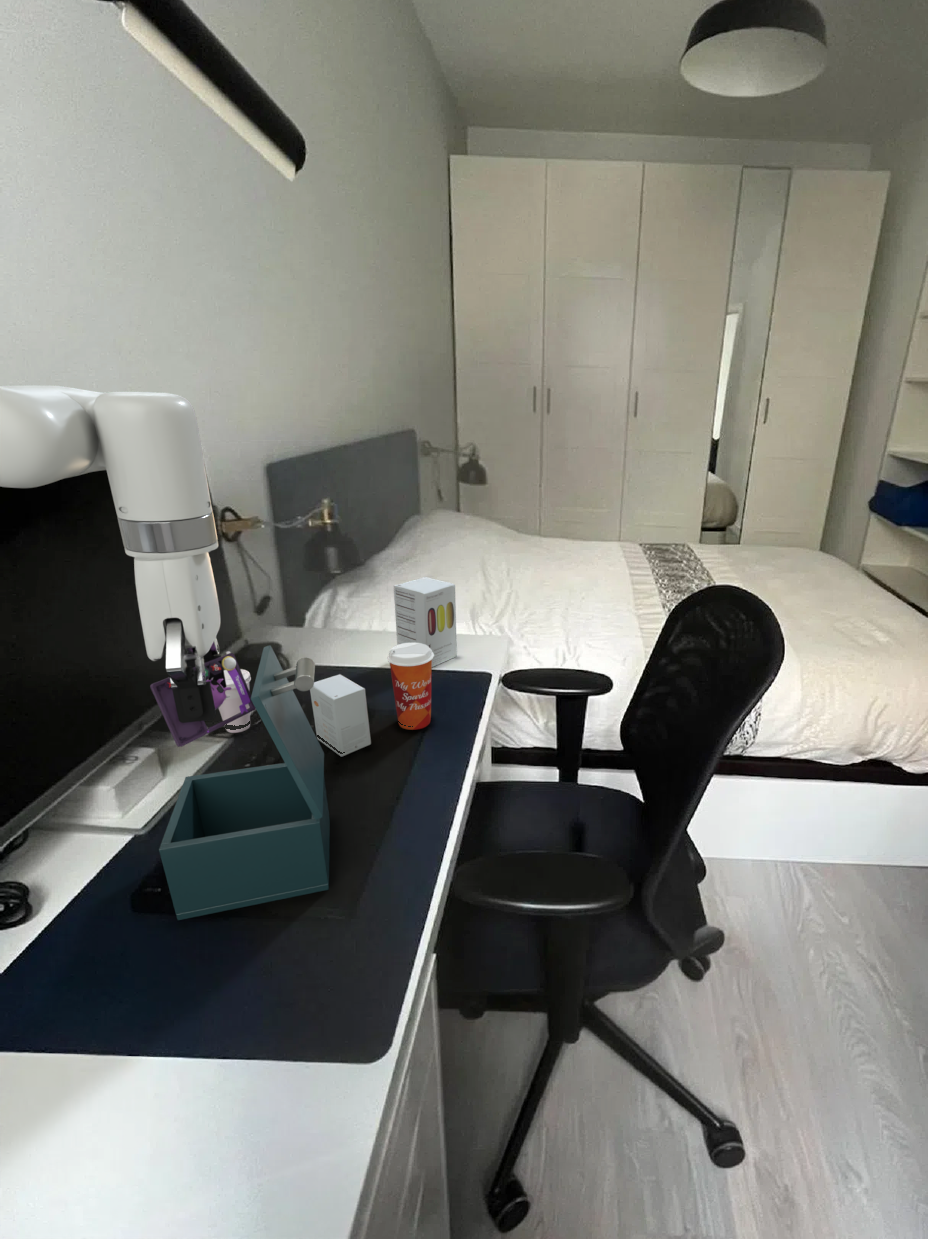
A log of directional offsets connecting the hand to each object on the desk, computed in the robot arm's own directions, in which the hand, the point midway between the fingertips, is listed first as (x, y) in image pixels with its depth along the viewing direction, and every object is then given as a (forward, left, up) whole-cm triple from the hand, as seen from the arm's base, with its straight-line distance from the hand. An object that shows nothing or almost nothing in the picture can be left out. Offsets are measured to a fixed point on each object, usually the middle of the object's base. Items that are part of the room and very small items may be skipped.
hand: (204, 703), depth 65 cm
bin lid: (+1, +8, -6) cm, 10 cm away
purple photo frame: (0, 0, -3) cm, 3 cm away
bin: (-2, +4, -25) cm, 25 cm away
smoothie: (-36, +20, -25) cm, 48 cm away
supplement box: (-33, +61, -25) cm, 73 cm away
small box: (-18, +28, -25) cm, 41 cm away
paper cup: (-14, +40, -25) cm, 49 cm away
